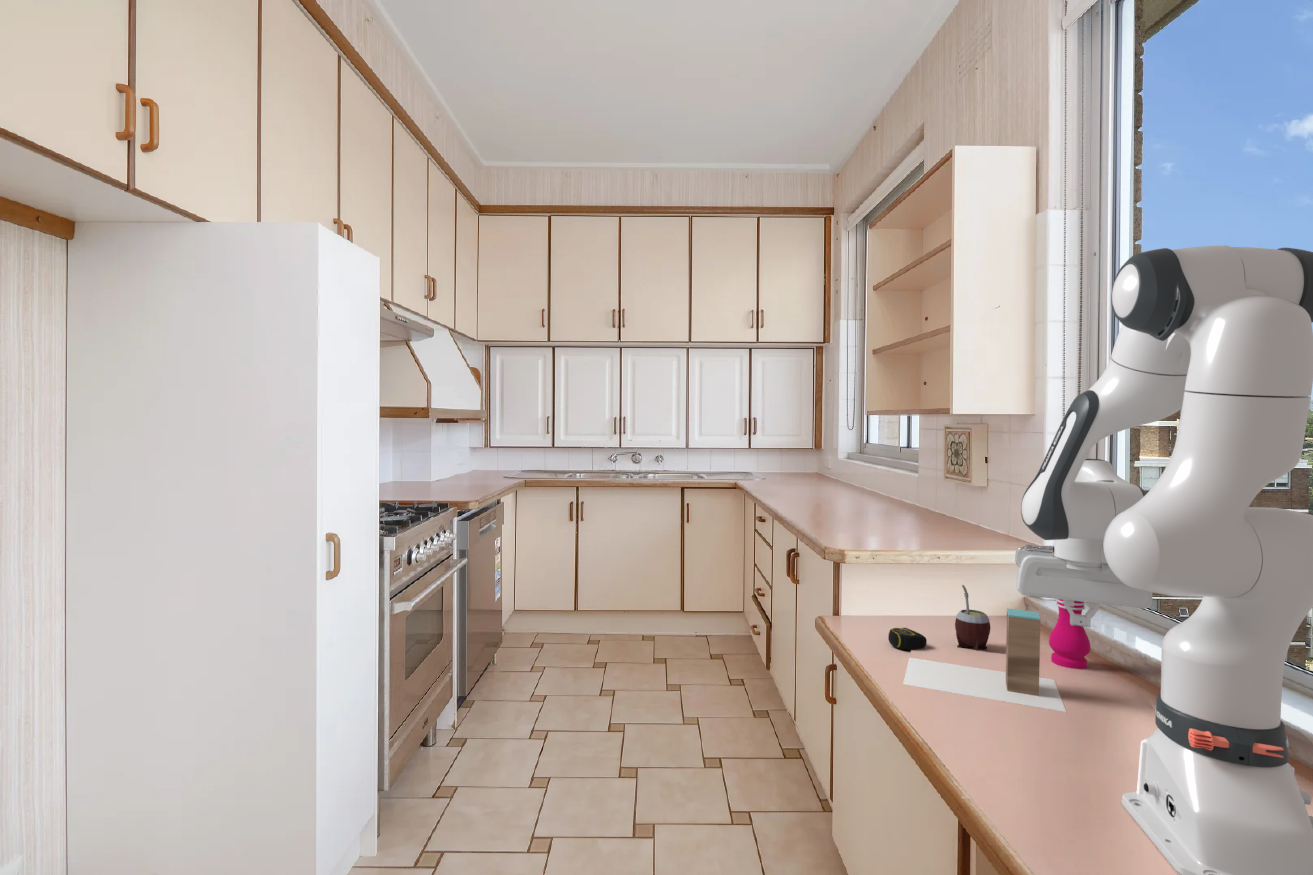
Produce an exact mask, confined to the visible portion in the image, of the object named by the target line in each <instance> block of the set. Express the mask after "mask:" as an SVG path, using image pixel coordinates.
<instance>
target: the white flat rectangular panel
mask: <svg viewBox="0 0 1313 875" xmlns="http://www.w3.org/2000/svg"><path fill="white" fill-rule="evenodd" d="M902 685H905V686H910V687H916V688H922V689H928V690H934V691H938V692H939V691H940V692H945V693H952V694H958V695H963V696H969V697H973V698H974V697H975V698H980V699H986V700H992V701H998V702H1003V703H1010V704H1016V705H1021V706H1027V707H1031V708H1032V707H1034V708H1038V709H1045V710H1051V711H1057V712H1063V713H1067V710H1066V707H1065V705H1064V701H1063V699H1062V697H1061V694H1060V692H1059V689H1058V687H1057V684H1056V681H1055V679H1052V678H1045V677H1040V676H1039V696H1035V695H1028V694H1022V693H1016V692H1010V691H1007V686H1006V671H999V670H995V669H988V668H981V667H973V666H967V665H962V664H955V663H948V662H941V661H933V660H928V659H922V658H921V659H920V658H916V657H915V658H914V657H909V658H908V662H907V666H906V669H905V674H904V678H903V681H902Z"/></svg>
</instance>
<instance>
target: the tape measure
mask: <svg viewBox="0 0 1313 875" xmlns="http://www.w3.org/2000/svg"><path fill="white" fill-rule="evenodd" d="M887 637H888V642H889V644H890V645H891V646H893V647H895V648H898V649H900V650H903V651H904V650H905V651H906V650H907V651H908V650H909V651H913V650H918V649H921V648H925V647H926V645H927V638H926V636H925V635H923V634H921V633H919V632H917V631H916V630H912V629H910V628H907V627H893V628H891V629H890V630H889V632H888V636H887Z"/></svg>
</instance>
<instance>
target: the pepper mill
mask: <svg viewBox="0 0 1313 875" xmlns="http://www.w3.org/2000/svg"><path fill="white" fill-rule="evenodd" d="M1055 602H1056V604H1055V605H1056V606H1057V608H1058V609H1057V610H1058V617H1057V618H1058V619H1057V621H1056V623H1055V626H1054V628H1053V629H1052V631H1051V632H1050V634H1049V638H1048V645H1049V646H1050V648H1051V650H1052V651H1053V653H1051V663H1053V664H1055V665H1057V666H1059V667H1064V668H1066V669H1067V668H1068V669H1072V670H1073V669H1074V670H1084V669H1087V668H1088V660H1087V659H1086V656H1087V655H1089V654H1090V651H1091V641H1090V639H1089V636H1088V634H1087V633H1086V630H1085V627H1082V626H1074V625H1071V624H1070V614H1069V612H1068V610H1067V608H1066V607H1065V605H1064V603H1063V600H1062V599H1055ZM1085 604H1086V602H1080V601H1074V606H1073V607H1072V606H1070V607H1071V609H1072V611H1073V612H1074V614H1080V615H1083V613H1082V612H1083V611H1084V610H1085V609H1086V608H1085Z"/></svg>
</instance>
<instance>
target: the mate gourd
mask: <svg viewBox="0 0 1313 875" xmlns="http://www.w3.org/2000/svg"><path fill="white" fill-rule="evenodd" d="M961 587H962V589H963V592H964V593H963V594H964V599H965V606H966V607H965V609H961V610H959V611H958V612H957V614H956V617H955V620H954V628H955V635H956V640H957V645H956V646H957V648H958V649H966V650H973V651H977V652H978V651H980V650H984V651H985V650H986V651H987V650H988V646H987V643H988V642H989V641H988V640H989V637H990V633H991V623H990V622H991V621H990V618H989V617H988V615H987V613H985V612H983V611H980V610H976V609H970V604H969V592H968V591H967V590H968V589H967V588H966V586H965V585H964V584H962V585H961Z"/></svg>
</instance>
